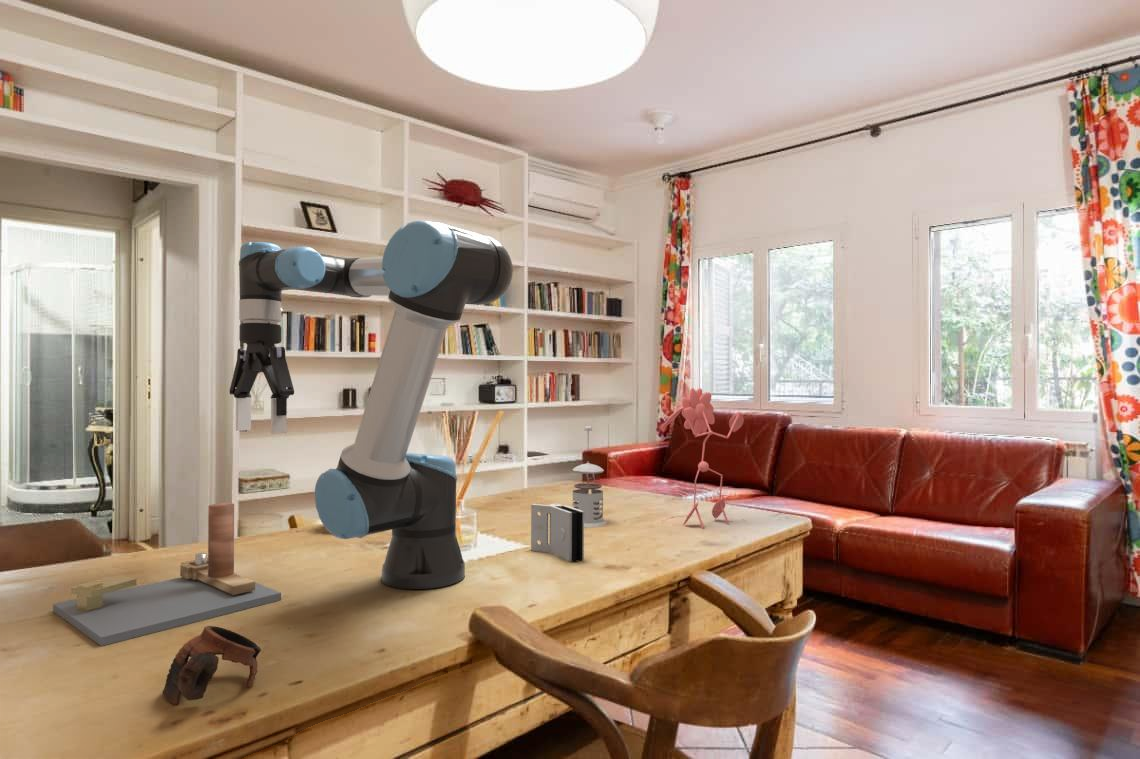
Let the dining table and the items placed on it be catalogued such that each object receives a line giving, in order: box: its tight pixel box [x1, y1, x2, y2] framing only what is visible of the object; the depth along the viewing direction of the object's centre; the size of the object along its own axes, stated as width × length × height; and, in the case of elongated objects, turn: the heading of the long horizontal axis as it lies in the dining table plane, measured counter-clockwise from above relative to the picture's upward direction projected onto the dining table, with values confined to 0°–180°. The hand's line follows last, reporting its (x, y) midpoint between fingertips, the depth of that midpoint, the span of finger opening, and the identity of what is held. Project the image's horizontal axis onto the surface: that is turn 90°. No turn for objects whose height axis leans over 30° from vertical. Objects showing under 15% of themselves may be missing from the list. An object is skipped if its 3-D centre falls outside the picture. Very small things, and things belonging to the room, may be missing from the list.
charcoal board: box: [52, 576, 282, 647], centre depth 113 cm, size 22×26×1 cm
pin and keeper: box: [70, 552, 208, 612], centre depth 116 cm, size 5×21×4 cm, turn 156°
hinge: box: [530, 503, 585, 563], centre depth 147 cm, size 14×5×10 cm, turn 43°
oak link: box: [179, 502, 256, 595], centre depth 120 cm, size 19×6×13 cm, turn 51°
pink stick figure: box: [660, 387, 747, 529], centre depth 181 cm, size 15×26×35 cm, turn 126°
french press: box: [572, 425, 608, 528], centre depth 179 cm, size 10×12×25 cm
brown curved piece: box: [162, 625, 262, 706], centre depth 82 cm, size 12×10×8 cm
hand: (260, 431), depth 135 cm, fingers open, 13 cm apart
